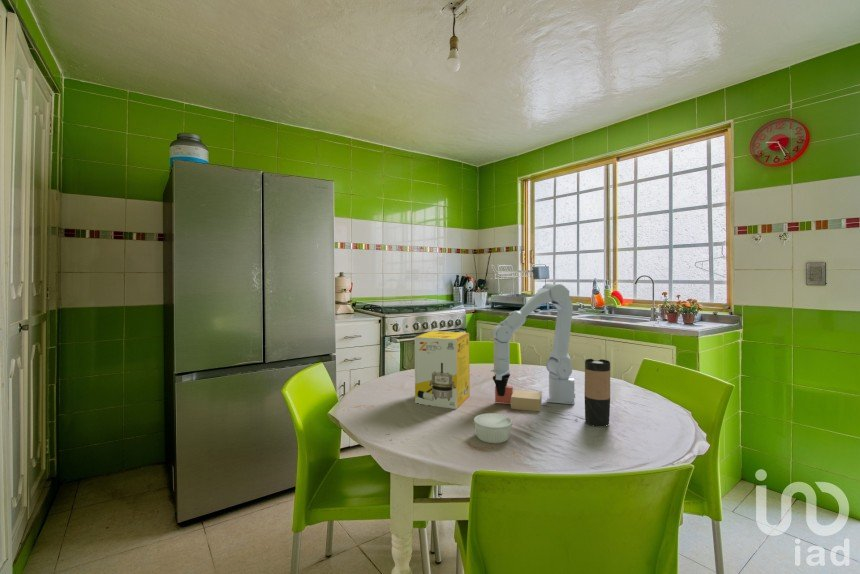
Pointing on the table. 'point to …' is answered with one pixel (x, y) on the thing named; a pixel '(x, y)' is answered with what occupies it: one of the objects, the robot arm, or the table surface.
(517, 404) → the sleeve
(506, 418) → the ramekin
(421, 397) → the packaging box
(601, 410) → the travel mug
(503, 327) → the robot arm
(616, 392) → the table surface
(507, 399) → the red and white box
